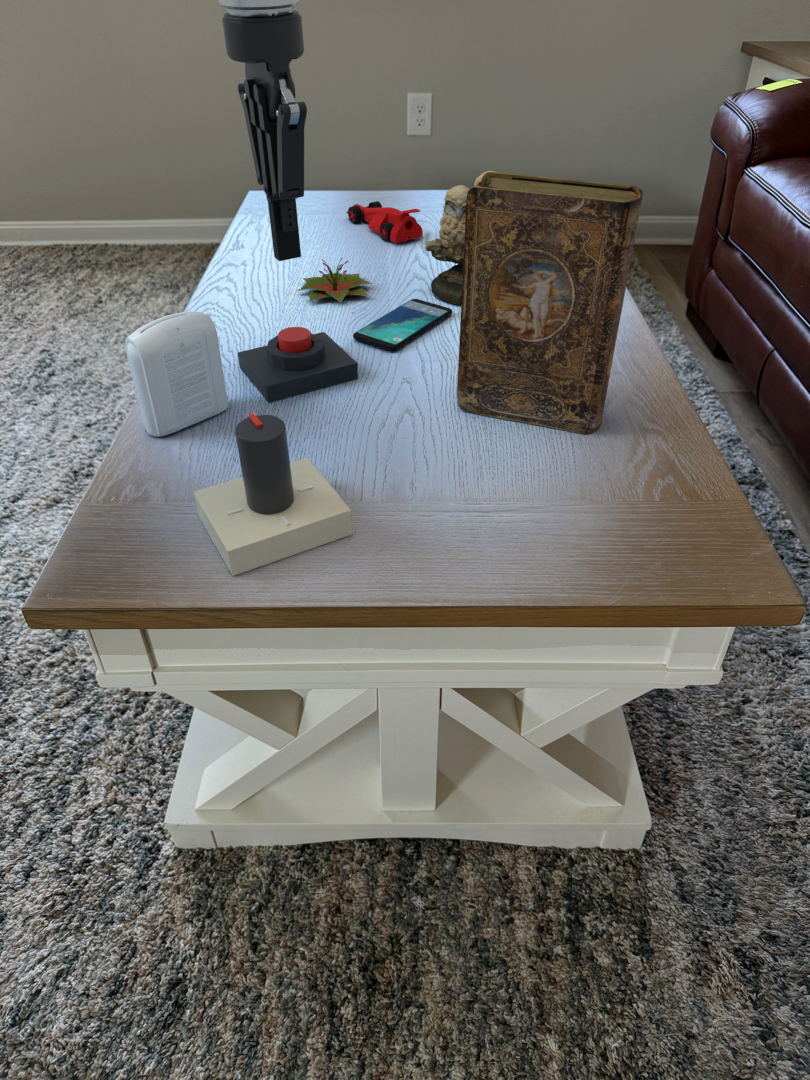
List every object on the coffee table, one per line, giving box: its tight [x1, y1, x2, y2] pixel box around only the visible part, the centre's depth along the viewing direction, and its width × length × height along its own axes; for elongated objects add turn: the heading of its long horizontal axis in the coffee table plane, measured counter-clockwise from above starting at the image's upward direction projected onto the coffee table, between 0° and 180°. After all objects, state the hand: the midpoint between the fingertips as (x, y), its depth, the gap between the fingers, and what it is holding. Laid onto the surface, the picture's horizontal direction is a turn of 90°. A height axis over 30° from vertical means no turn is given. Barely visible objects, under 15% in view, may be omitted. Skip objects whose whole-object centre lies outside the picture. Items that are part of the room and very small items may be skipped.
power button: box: [277, 326, 312, 353], centre depth 96 cm, size 4×4×2 cm
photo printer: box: [124, 310, 229, 438], centre depth 87 cm, size 10×4×12 cm, turn 134°
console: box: [192, 456, 353, 577], centre depth 75 cm, size 12×10×3 cm
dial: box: [234, 412, 294, 514], centre depth 71 cm, size 4×4×8 cm
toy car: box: [346, 200, 423, 244], centre depth 138 cm, size 6×18×5 cm, turn 33°
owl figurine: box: [424, 169, 496, 306], centre depth 112 cm, size 18×12×17 cm, turn 82°
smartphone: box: [352, 298, 453, 352], centre depth 109 cm, size 7×1×15 cm
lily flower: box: [296, 257, 374, 304], centre depth 117 cm, size 12×12×5 cm
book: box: [456, 171, 644, 435], centre depth 84 cm, size 16×6×25 cm, turn 70°
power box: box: [236, 331, 359, 403], centre depth 98 cm, size 12×10×4 cm
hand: (287, 256), depth 90 cm, fingers closed
